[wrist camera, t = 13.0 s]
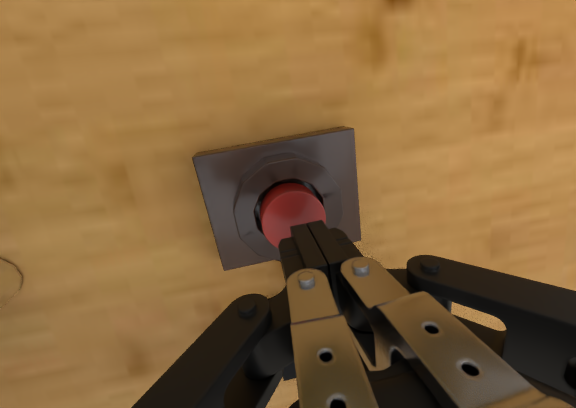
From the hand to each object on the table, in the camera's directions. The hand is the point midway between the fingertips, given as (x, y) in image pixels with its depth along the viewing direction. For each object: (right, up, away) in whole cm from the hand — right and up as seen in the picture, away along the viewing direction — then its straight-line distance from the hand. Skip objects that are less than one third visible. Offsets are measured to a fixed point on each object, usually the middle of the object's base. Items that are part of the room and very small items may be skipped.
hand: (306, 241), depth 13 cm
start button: (-1, +1, +4) cm, 4 cm away
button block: (-1, +2, +7) cm, 7 cm away
